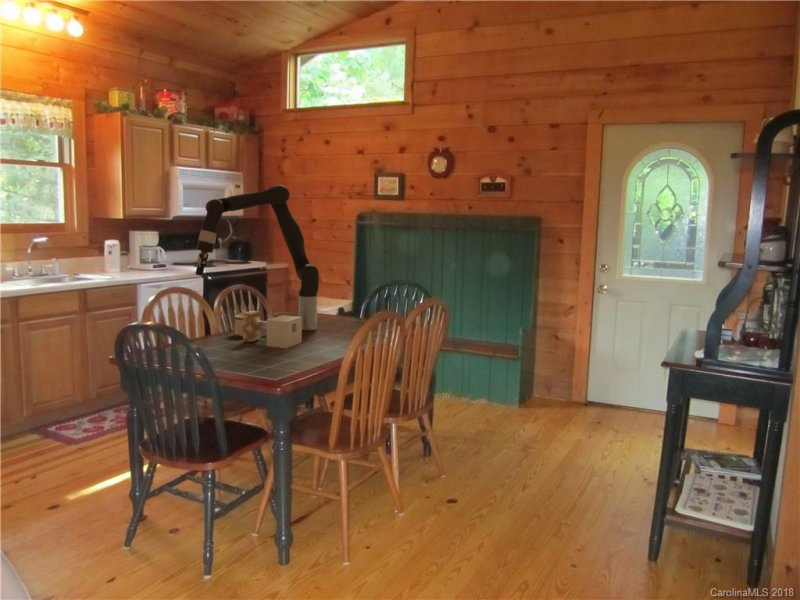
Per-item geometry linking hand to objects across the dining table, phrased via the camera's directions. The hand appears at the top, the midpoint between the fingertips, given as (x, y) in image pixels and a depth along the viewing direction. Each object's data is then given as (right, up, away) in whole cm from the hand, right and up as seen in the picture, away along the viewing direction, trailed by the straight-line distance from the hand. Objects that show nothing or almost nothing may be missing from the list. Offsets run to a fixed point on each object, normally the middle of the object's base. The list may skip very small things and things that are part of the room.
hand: (198, 275), depth 304 cm
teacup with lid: (+18, -28, +15) cm, 37 cm away
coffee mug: (+35, -28, +18) cm, 48 cm away
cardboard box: (+41, -32, -6) cm, 52 cm away
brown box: (+30, -30, -2) cm, 43 cm away
